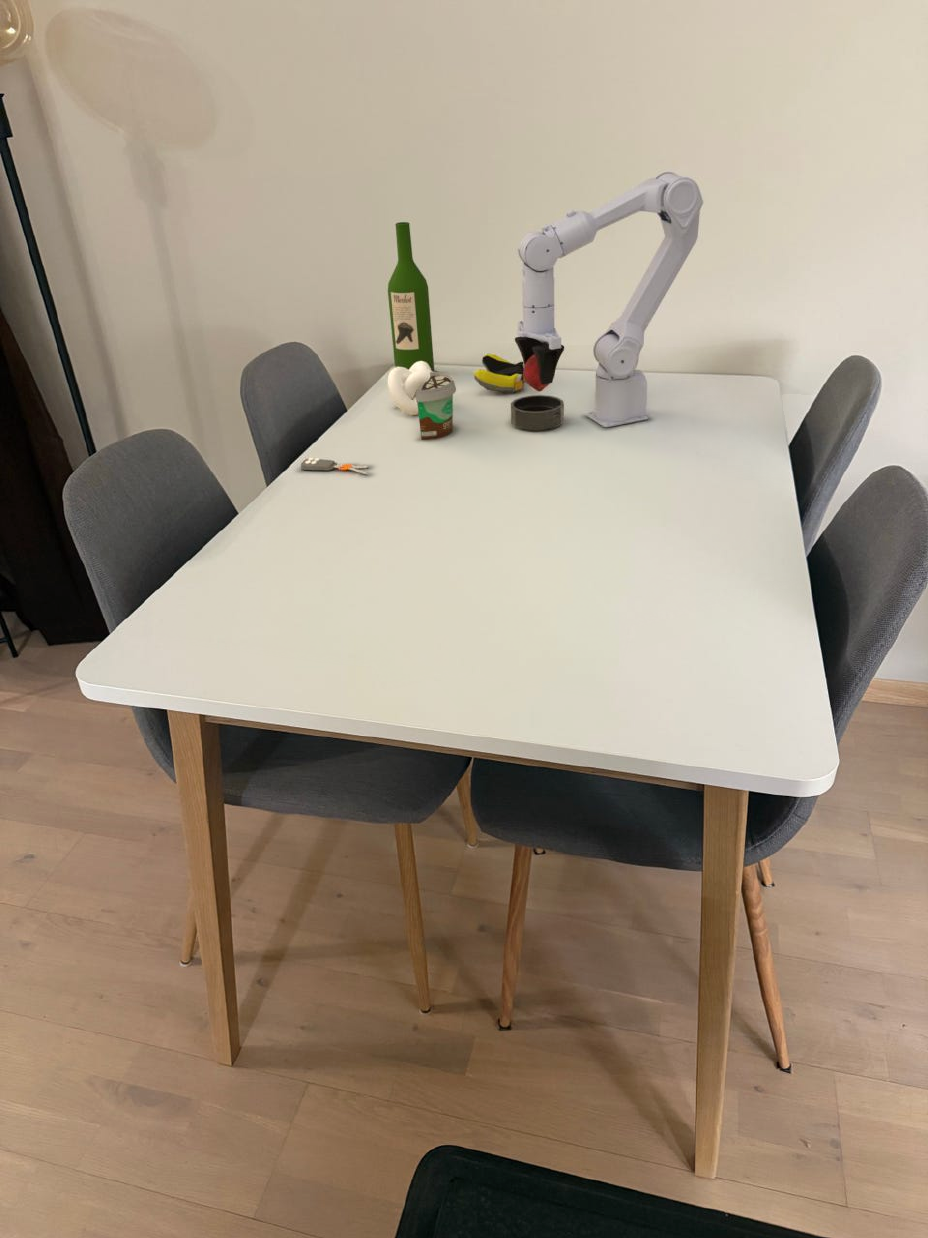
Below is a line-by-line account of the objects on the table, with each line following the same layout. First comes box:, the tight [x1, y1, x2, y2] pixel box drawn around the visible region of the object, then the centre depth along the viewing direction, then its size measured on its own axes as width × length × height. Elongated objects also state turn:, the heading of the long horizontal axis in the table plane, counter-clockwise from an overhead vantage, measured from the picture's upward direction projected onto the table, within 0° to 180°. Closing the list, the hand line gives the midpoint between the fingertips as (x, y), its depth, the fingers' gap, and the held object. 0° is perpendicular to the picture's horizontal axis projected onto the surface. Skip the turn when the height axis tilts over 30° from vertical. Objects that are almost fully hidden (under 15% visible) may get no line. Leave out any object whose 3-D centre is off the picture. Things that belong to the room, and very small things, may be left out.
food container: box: [416, 371, 457, 441], centre depth 173 cm, size 12×6×10 cm, turn 168°
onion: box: [523, 354, 556, 392], centre depth 169 cm, size 6×6×8 cm
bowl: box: [510, 394, 565, 432], centre depth 175 cm, size 10×10×4 cm
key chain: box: [300, 457, 369, 475], centre depth 162 cm, size 13×4×2 cm, turn 75°
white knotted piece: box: [387, 361, 433, 416], centre depth 186 cm, size 11×12×9 cm
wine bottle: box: [387, 221, 435, 372], centre depth 199 cm, size 9×9×32 cm
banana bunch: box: [473, 353, 526, 395], centre depth 196 cm, size 15×6×10 cm
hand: (539, 378), depth 170 cm, fingers closed on onion, 6 cm apart
